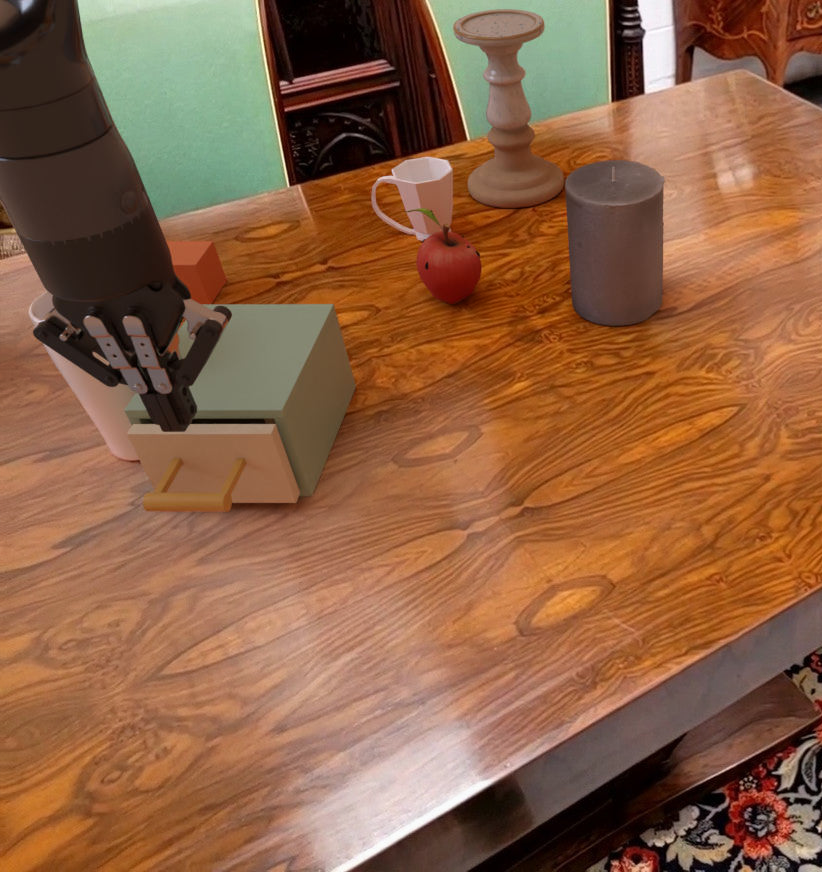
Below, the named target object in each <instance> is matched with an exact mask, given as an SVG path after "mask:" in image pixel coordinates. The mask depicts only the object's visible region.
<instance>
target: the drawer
mask: <svg viewBox="0 0 822 872" xmlns="http://www.w3.org/2000/svg"><path fill="white" fill-rule="evenodd" d="M127 436H128V438H129V440H130V442H131V444H132V446H133V448H134V450H135V452H136V454H137V456H138V458H139V460H138V461H139V462H140V464H141V467H142V468H143V470H144V473H145V474H146V476H147V478H148V480H149V483H150V484H151V486H152V488H153V492H152V491H151V492H146V493H145V494H144V496H143V499H142V506H143V509H144V511H146V512H227V513H228V512H229V511H230V510H231V509H232V504H296V503H297V501H298V500H299V497H300V496H299V494H300V491H299V488H298V485H297V483H296V480H295V476H294V473H293V471H292V468H291V465H290V462H289V459H288V457H287V454H286V451H285V448H284V445H283V442H282V440H281V437H280V434H279V431H278V428H277V426H276V423H275V420H274V419H193V420H192V421H191V423H190V425H189V426H188V428H187V429H186V431H185V432H163V431H162V430H161V428H160V426H159V425H156V424H133V425H132V426H131V428H130V430H129V431H128V433H127Z"/></svg>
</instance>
